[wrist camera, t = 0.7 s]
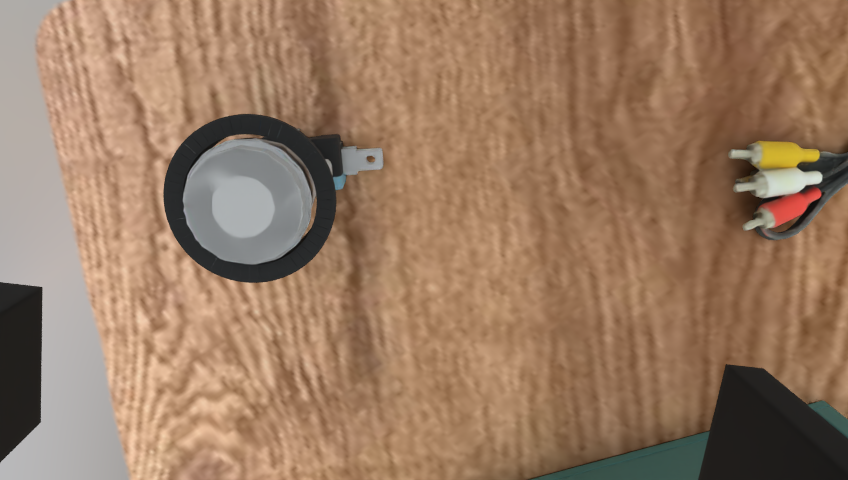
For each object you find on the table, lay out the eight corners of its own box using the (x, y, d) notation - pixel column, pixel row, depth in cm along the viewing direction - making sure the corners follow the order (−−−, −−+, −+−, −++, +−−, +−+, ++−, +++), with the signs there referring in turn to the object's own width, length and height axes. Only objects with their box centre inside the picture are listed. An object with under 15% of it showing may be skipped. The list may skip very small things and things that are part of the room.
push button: (378, 94, 31) (369, 107, 21) (387, 217, 32) (383, 282, 22) (221, 105, 31) (139, 123, 21) (237, 227, 32) (167, 297, 22)
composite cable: (927, 88, 32) (971, 90, 29) (937, 193, 33) (980, 203, 30) (706, 146, 32) (732, 153, 30) (723, 249, 33) (749, 263, 31)
